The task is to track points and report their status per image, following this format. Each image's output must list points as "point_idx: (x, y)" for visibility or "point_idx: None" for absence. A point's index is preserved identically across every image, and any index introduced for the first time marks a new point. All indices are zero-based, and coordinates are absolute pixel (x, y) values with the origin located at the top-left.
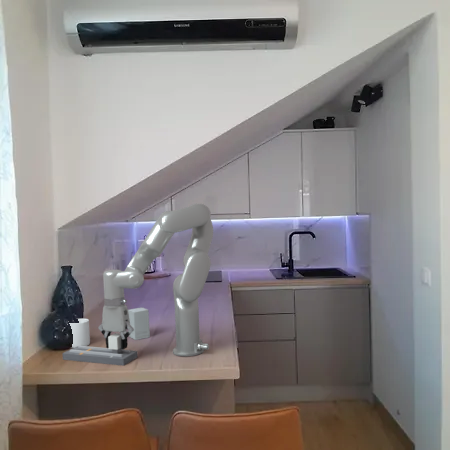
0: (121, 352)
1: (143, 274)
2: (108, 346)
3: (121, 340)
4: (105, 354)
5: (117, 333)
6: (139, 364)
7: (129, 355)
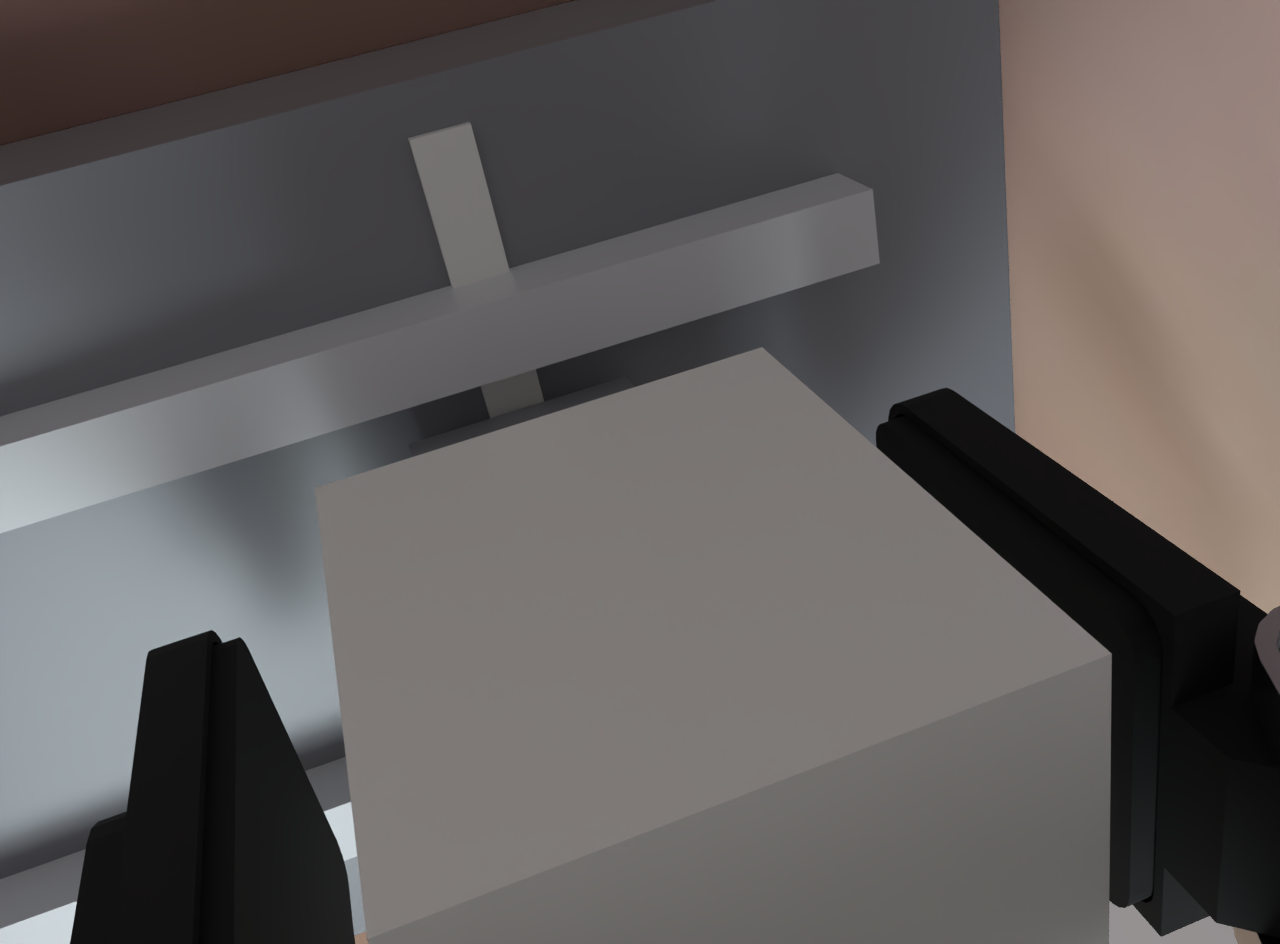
0: (588, 367)
1: None
2: (336, 873)
3: (1145, 894)
4: (350, 829)
5: (611, 894)
6: (1213, 341)
7: (1011, 416)
